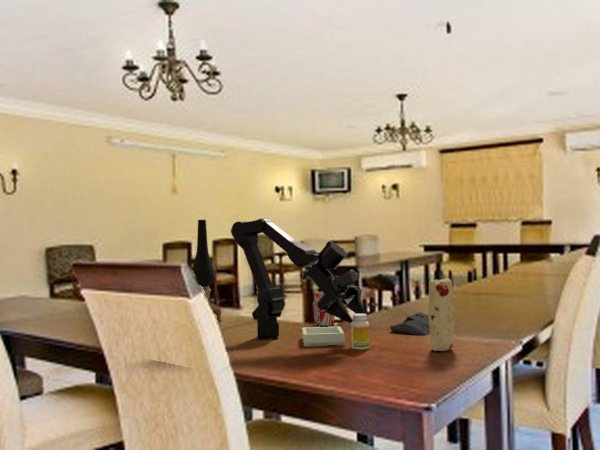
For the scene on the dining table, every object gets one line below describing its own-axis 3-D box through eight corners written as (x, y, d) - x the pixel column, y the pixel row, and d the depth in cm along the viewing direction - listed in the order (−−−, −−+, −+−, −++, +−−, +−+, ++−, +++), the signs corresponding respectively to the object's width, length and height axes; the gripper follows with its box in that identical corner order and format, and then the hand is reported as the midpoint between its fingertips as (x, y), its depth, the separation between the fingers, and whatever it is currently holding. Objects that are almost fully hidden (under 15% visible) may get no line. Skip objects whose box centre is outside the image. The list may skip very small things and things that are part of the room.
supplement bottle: (347, 347, 158) (346, 314, 158) (363, 345, 160) (362, 312, 160) (357, 350, 153) (356, 316, 153) (373, 348, 155) (372, 314, 156)
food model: (447, 354, 146) (445, 280, 146) (423, 352, 150) (422, 279, 150) (459, 348, 154) (458, 277, 154) (437, 345, 157) (435, 276, 158)
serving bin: (304, 346, 160) (303, 334, 160) (302, 338, 172) (302, 327, 172) (344, 345, 160) (344, 333, 160) (340, 337, 172) (339, 326, 172)
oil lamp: (205, 335, 199) (210, 228, 192) (174, 325, 207) (178, 221, 200) (228, 324, 211) (234, 223, 204) (198, 315, 219) (203, 217, 212)
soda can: (332, 327, 191) (331, 293, 191) (312, 327, 193) (312, 293, 193) (335, 324, 198) (334, 291, 198) (316, 323, 199) (315, 290, 200)
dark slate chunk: (382, 333, 180) (381, 319, 180) (408, 324, 198) (407, 310, 198) (426, 338, 172) (426, 322, 172) (449, 327, 190) (449, 313, 190)
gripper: (325, 263, 152) (362, 304, 146) (355, 259, 168) (389, 297, 162) (302, 290, 156) (337, 332, 150) (333, 284, 172) (366, 321, 166)
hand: (359, 319), depth 157 cm, fingers open, 9 cm apart
